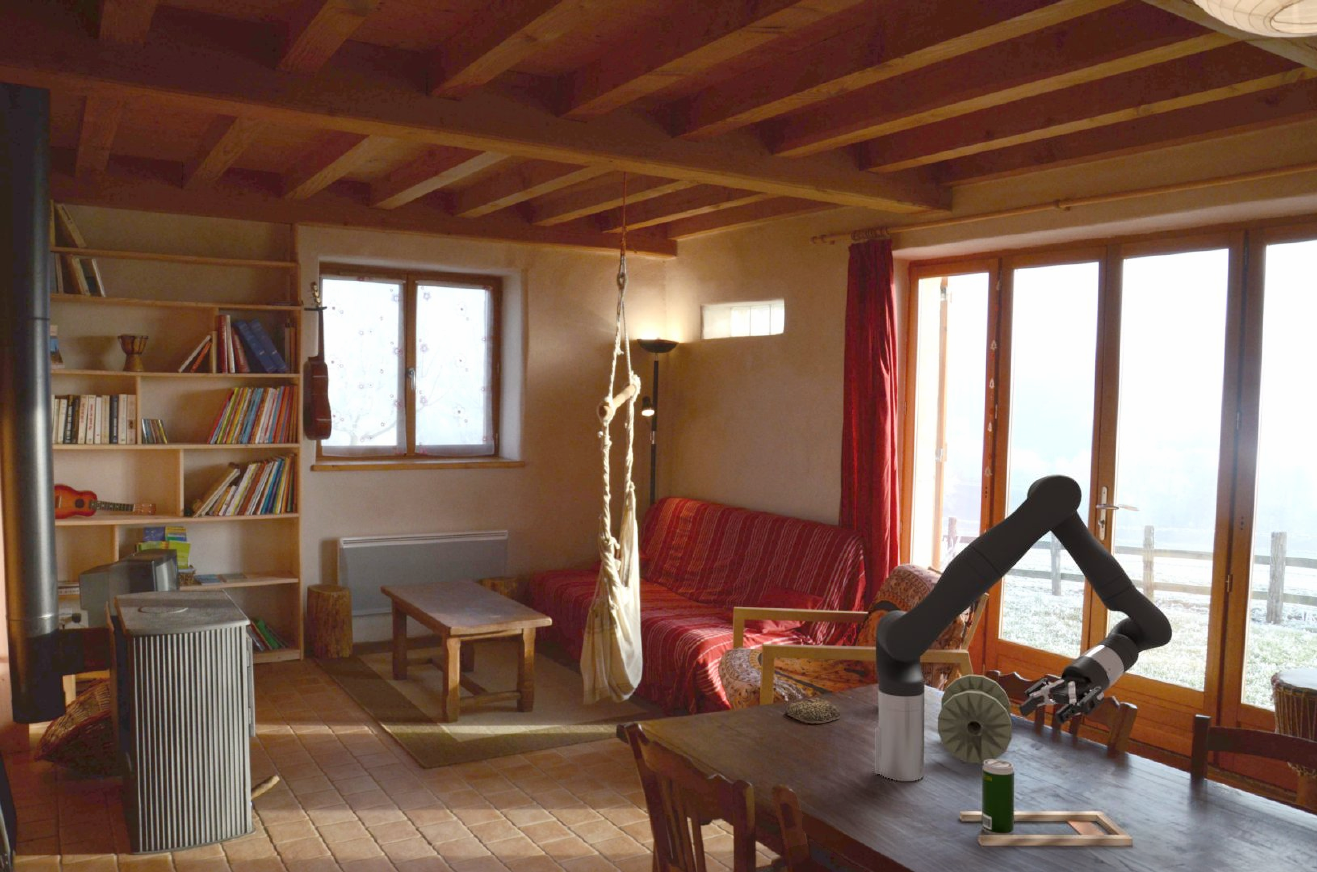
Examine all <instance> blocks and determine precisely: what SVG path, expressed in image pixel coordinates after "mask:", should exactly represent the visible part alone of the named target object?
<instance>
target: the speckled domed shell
mask: <svg viewBox="0 0 1317 872" xmlns="http://www.w3.org/2000/svg"><path fill="white" fill-rule="evenodd" d="M786 710H787V712H788V713H789V714H792V715H794V716H795V717H798V718H803V719H804V720H807V721H824V720H830V719H831V718H837V717H839V716H840V715H841V716H842V713H841V711H840V710H839V709H838V708H837V707H836V706H835V705H834V704H832V703H831V702H830V701H828V700H826V699H821V698H819V697H812V698H809V699H806V700H802V701H798V702H795V703H793V702H792V703H790V704H789V705H788V707H786V708H785V711H786Z"/></svg>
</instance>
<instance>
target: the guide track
mask: <svg viewBox="0 0 1317 872" xmlns="http://www.w3.org/2000/svg"><path fill="white" fill-rule="evenodd" d="M959 819H960V820H961V822H982V810H981V811H979V810H978V811H973V810H972V811H971V810H970V811H968V810H967V811H965V810H964V811H960V810H959ZM1014 822H1066V823H1068V825H1070V826H1071V827H1072V828H1073V829H1074V830H1075V831H1076V832H1077V833H1078V834H1011V835H990V834H978V843H979V844H980V846H983V847H984V846H986V847H987V846H992V847H993V846H1001V847H1002V846H1006V847H1007V846H1010V847H1011V846H1020V847H1021V846H1025V847H1026V846H1034V847H1035V846H1048V847H1049V846H1053V847H1054V846H1065V847H1066V846H1068V847H1069V846H1071V847H1072V846H1080V847H1081V846H1084V847H1085V846H1086V847H1087V846H1094V847H1095V846H1107V847H1108V846H1109V847H1111V846H1113V847H1114V846H1116V847H1117V846H1118V847H1119V846H1123V847H1124V846H1134V843H1133V842H1134V839H1133V837H1132V836H1131V835H1129V834H1128V833H1127V832H1126V831H1125V830H1123V828H1121V827H1120V826H1119V825H1117V824H1116V823H1115V822H1114V821H1113V819H1110V817H1108V816H1107V815H1106V814H1105V813H1103V811H1099V810H1097V811H1096V810H1095V811H1091V810H1090V811H1087V810H1086V811H1079V810H1077V811H1060V810H1058V811H1055V810H1054V811H1051V810H1048V811H1045V810H1044V811H1025V810H1023V811H1015V810H1014ZM1092 822H1096V823H1098V824H1099V825H1100V826H1101V827H1102V828H1104V829H1105V830H1106V831H1107V832H1108V833H1109V834H1105V833H1103V832H1102V831H1101V830H1100V829H1099V828H1098V827H1097V826H1096V825H1094V824H1093V823H1092Z"/></svg>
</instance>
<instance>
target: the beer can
mask: <svg viewBox="0 0 1317 872" xmlns="http://www.w3.org/2000/svg"><path fill="white" fill-rule="evenodd" d="M981 767H982V768H981V775H982V778H981V780H982V781H981V811H982V821H981V826H982V830H983V832H985V833H986V834H987V835H1013V832H1014V830H1015V821H1014V811H1015V770H1014V765H1013V763H1012V762H1011V761H1009V760H1004V759H1000V758H999V759H998V758H997V759H989V760H985V761H984V763H983V765H982V766H981Z"/></svg>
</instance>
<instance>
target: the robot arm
mask: <svg viewBox="0 0 1317 872" xmlns="http://www.w3.org/2000/svg"><path fill="white" fill-rule="evenodd" d="M1082 493H1083V492H1082V488H1081V486H1080V484H1079V483H1078V482H1077V481H1076V480H1075V479H1074V478H1072V477H1070V476H1069V475H1065V474H1057V473H1056V474H1049V475H1045V476H1043V477H1040V478H1039V479H1037V480H1035V481H1033V482H1032V484H1031V485H1030V486H1029V488H1028V489H1027V493H1026V499H1024V501H1022V503H1021V504H1020V505H1019V506H1018V507H1017V508H1016V509H1015V510H1014V511H1013V512H1011V514H1010V515H1008V516H1007V517H1006V518H1005V519H1003V520H1002V521H1000V522H998V523H997V524H995V525H993V526H991V528H988V529H987V530H986V531H984V532H983V533H982V534H980V535H979V536H977V537H976V538H975V539H973V540H972V541H971V542H970V543H969V544H968V545H967V546H965V547H964V548H963V549H962V550H961V551H960V552H958V554H956V556H954V558H953V559H952V560H951V561H950V562H949V563H948V565H947V566H946V567H945V568H944V570H943V571H942V573H941V574H940V576H939V578H938V579H937V582H936V583H935V585H934V586H933V588H932V589H931V591H930V592H929V593H928V594H927V595H926V596H925V597H924V598H923V599H922V600H921V601H919V602H918V603H917V604H916V605H915V606H913V607H912V608H911V609H909V610H908V611H904V610H890V611H888V612H887V613H885V614H884V615H882V617H881V618H880V619H879V621H878V623H877V626H876V630H875V669H876V671H875V672H876V676H877V681H878V685H877V687H878V693H877V694H878V696H877V697H878V698H877V702H878V707H877V708H878V712H877V713H878V714H877V715H878V723H877V724H878V725H877V726H876V727H875V729H874V774H875V773H876V774H875V775H877V774H880V775H879V776H881V775H882V776H881V777H883V776H885V777H887V778H886V779H888V778H890V779H889V780H891V779H893V781H896V780H897V782H916V781H919V780H922V779H923V778H924V777H923V776H925V678H924V675H923V672H922V666H921V657H922V656H923V655H924V654H925V653H926V652H927V651H928V650H929V649H930V648H931V646H932V645H933V644H934V643H935V642H936V641H937V639H938V638H939V637H940V636H941V635H942V634H943V633H944V632H945V630H946V629H947V628H948V627H949V626H950V625H951V624H952V623H953V622H954V621H955V620H956V619H957V618H959V616H961V615H962V614H963V613H964V612H965V611H967V610H968V609H969V608H971V606H972V605H973V604H974V603H976V602H977V600H979V599H980V598H981V597H982V596H984V595H985V594H986V593H987V592H988V591H989V590H991V589H992V588H993V587H994V586H995V585H996V584H997V583H998V582H999V581H1000V580H1002V579H1003V577H1005V576H1006V575H1007V573H1008V572H1009V571H1010V570H1012V569H1013V568H1014V566H1016V565H1017V564H1018V562H1019V561H1020V560H1021V559H1022V558H1023V557H1024V556H1025V555H1026V554H1027V553H1028V552H1029V550H1030V549H1031V548H1032V547H1033V546H1034V545H1035V544H1036V543H1037V542H1038V541H1040V540H1041V538H1043V537H1045V536H1046V535H1047V534H1048V533H1049V532H1051V533H1052V534H1053V536H1055V538H1056V539H1057V540H1058V541H1059V543H1060V544H1061V545H1062V546H1063V548H1064V549H1065V550H1066V551H1067V553H1068V554H1069V556H1070V557H1071V559H1072V560H1073V561H1074V562H1075V565H1076V566H1077V567H1078V568H1079V570H1080V571H1081V573H1082V574H1083V576H1084V577H1085V579H1086V580H1087V582H1088V583H1089V585H1090V586H1091V588H1092V590H1093V591H1094V593H1095V594H1096V595H1097V597H1098V598H1099V600H1100V602H1101V603H1102V604H1103V606H1104V607H1105V608H1106V609H1107V610H1109V611H1111V612H1117V613H1119V612H1120V613H1123V614H1125V615H1126V616H1127V617H1125V618H1123V619H1122V620H1120V621H1119V622H1117V624H1115V625H1114V626H1113V627H1112V629H1111V630H1110V631H1109V633H1108V634H1107V635H1106V637H1105V638H1103V639H1102V640H1101V641H1099V643H1097V644H1095V645H1094V646H1093V647H1091V648H1089V649H1088V650H1086V651H1085V652H1083V653H1082V654H1081V655H1079V656H1078V657H1077V658H1075V659H1074V660H1072V662H1070V663H1069V664H1068V665H1067V666H1065V667H1064V668H1063V669H1062V673H1061V677H1060V679H1058V680H1055V681H1054V682H1051V681H1049V679H1048V678H1047V677H1043V678H1042V679H1040V680H1039V681H1037V682H1036V683H1035V684H1033V685H1032V686H1030V687H1029V688H1028V689H1026V690H1025V691H1024V694H1025V697H1026V700H1024V701H1023V702H1022V703H1021V704H1019V707H1018V709H1019V711H1020V715H1021V716H1022V717H1025V718H1027V717H1028V716H1029V715H1030V714H1032V713H1033V712H1034V711H1036V710H1037V709H1039V707H1041V706H1045V705H1047V706H1048V707H1051V706H1053V705H1056V704H1064V705H1063V706H1062V707H1061V708H1059V709H1058V710H1057V711H1056V712H1054V718H1055V720H1056V722H1057V724H1059V725H1063V724H1065V723H1066V722H1068V721H1069V720H1070V719H1071V718H1073V717H1074V716H1078V715H1081V714H1082V713H1083V715H1084V716H1089V715H1090V714H1092V713H1093V712H1094V711H1096V709H1097V708H1098V707H1099V706H1101V705H1102V704H1103V702H1105V701H1106V698H1105V694H1104V692H1105V691H1106V690H1108V689H1109V688H1111V687H1112V686H1113V685H1114V684H1116V682H1117V681H1118V680H1119V678H1121V677H1122V675H1124V674H1125V673H1126V672H1127V671H1129V670H1131V668H1132V667H1133V666H1134V665H1135V664H1136V663H1137V662H1138V660H1139V655H1140V653H1142V652H1143V651H1144V652H1145V651H1147V650H1153V649H1157V648H1160V647H1164V646H1166V645H1168V644H1169V643H1170V642H1171V640H1172V637H1173V629H1172V625H1171V623H1170V621H1169V619H1168V617H1167V616H1166V615H1165V614H1164V612H1163V611H1162V610H1161V609H1160V608H1159V607H1158V606H1156V605H1155V603H1153V602H1152V601H1151V600H1150V599H1149V598H1148V597H1147V596H1146V595H1144V594H1143V593H1142V592H1141V591H1139V589H1138V588H1136V586H1135V584H1134V582H1132V580H1131V578H1130V576H1129V575H1128V573H1126V570H1125V569H1124V568H1123V567H1122V565H1121V564H1120V563H1119V562H1118V560H1117V559H1116V558H1115V557H1114V556H1113V555H1112V553H1111V552H1110V551H1109V550H1108V549H1107V548H1106V547H1105V546H1104V545H1103V544H1102V543H1101V542H1100V541H1099V540H1098V538H1097V537H1095V535H1094V534H1093V533H1092V532H1091V531H1090V530H1089V527H1087V525H1086V524H1085V522H1084V521H1083V519H1082V518H1081V516H1080V514H1079V512H1078V509H1079V507H1080V506H1081V503H1082V497H1083V495H1082ZM1050 694H1051V698H1052V699H1050V697H1049V695H1050ZM1042 698H1044V699H1042ZM1041 699H1042V700H1041ZM885 777H884V778H885ZM922 777H923V778H922ZM921 778H922V779H921ZM918 779H919V780H918ZM915 780H916V781H915Z"/></svg>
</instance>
